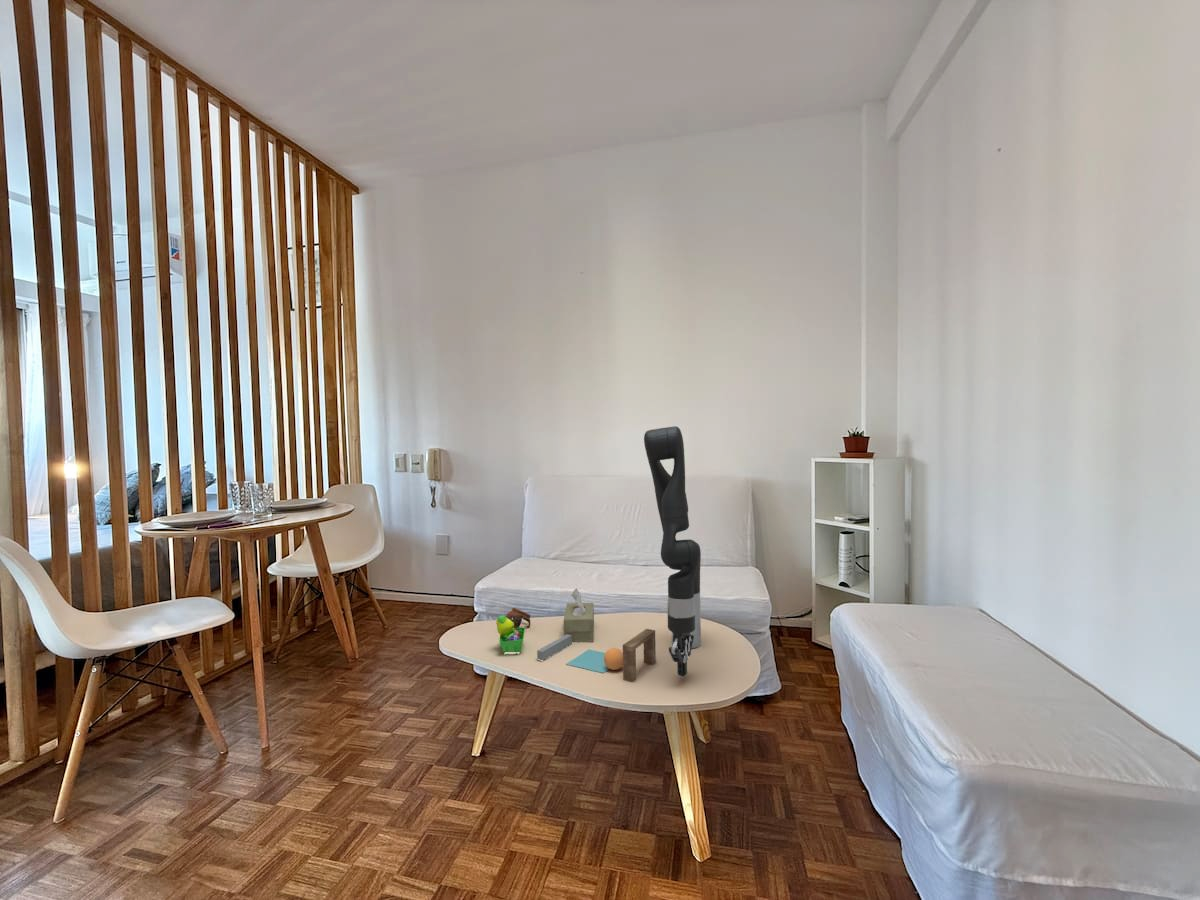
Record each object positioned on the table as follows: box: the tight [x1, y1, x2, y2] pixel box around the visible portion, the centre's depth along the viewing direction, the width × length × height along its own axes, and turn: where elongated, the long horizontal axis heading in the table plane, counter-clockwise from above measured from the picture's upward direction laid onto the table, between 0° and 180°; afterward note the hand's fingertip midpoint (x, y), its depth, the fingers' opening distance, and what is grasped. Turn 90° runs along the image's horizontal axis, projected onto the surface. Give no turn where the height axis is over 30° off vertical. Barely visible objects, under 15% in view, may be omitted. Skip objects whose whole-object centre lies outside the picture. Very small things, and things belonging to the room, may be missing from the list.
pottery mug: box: [505, 607, 531, 628], centre depth 192 cm, size 12×10×8 cm
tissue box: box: [563, 588, 595, 643], centre depth 187 cm, size 19×10×16 cm, turn 0°
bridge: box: [622, 628, 657, 683], centre depth 155 cm, size 3×15×10 cm, turn 149°
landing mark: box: [566, 648, 610, 674], centre depth 163 cm, size 13×13×1 cm
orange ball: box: [604, 647, 623, 671], centre depth 156 cm, size 6×6×6 cm
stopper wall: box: [536, 634, 573, 660], centre depth 170 cm, size 16×2×3 cm, turn 149°
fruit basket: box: [495, 614, 526, 653], centre depth 173 cm, size 11×9×11 cm
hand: (682, 674), depth 148 cm, fingers closed
